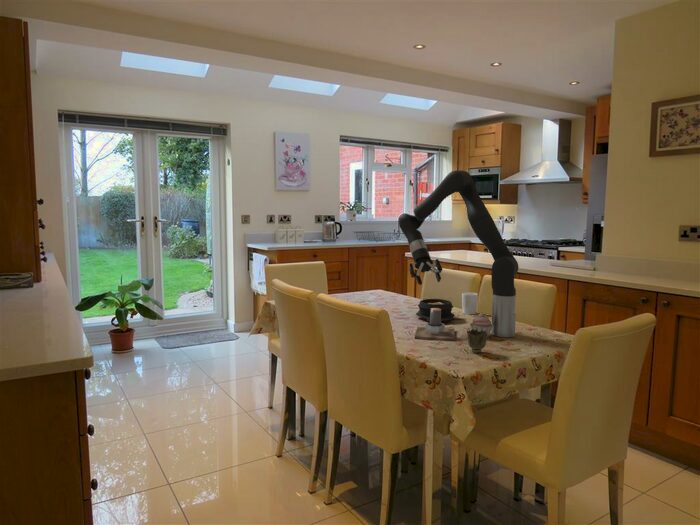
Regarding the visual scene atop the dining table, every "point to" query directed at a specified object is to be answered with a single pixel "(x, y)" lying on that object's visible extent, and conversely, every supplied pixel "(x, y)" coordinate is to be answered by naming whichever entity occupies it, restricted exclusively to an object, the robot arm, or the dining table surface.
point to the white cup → (469, 303)
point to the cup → (477, 340)
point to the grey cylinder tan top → (435, 317)
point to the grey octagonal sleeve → (435, 329)
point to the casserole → (435, 303)
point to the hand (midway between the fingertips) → (430, 282)
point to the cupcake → (482, 323)
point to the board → (446, 336)
